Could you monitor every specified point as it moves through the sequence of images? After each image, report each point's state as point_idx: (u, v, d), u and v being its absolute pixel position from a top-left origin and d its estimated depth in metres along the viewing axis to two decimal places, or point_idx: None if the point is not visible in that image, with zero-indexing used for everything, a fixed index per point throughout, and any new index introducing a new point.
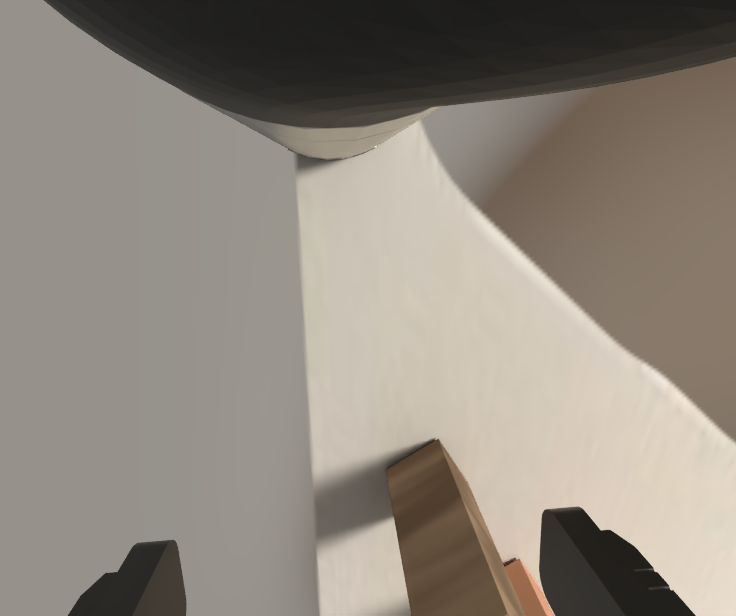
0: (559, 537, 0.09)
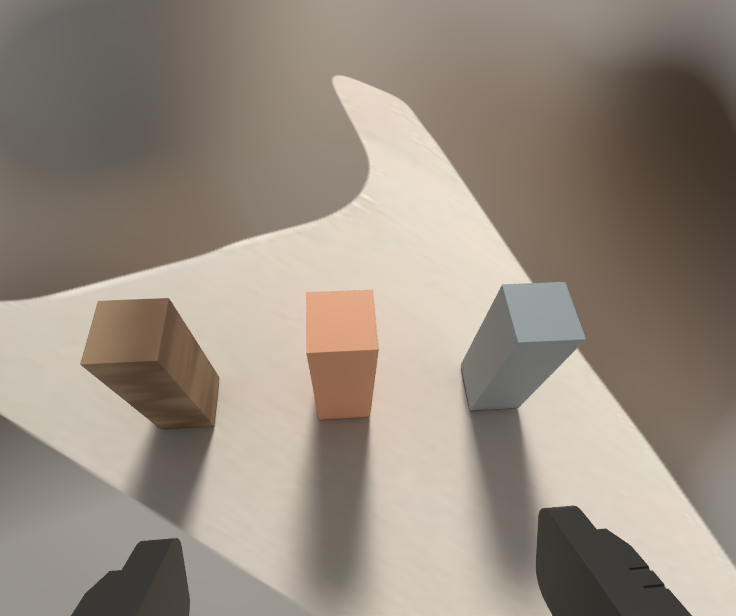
0: (555, 536, 0.09)
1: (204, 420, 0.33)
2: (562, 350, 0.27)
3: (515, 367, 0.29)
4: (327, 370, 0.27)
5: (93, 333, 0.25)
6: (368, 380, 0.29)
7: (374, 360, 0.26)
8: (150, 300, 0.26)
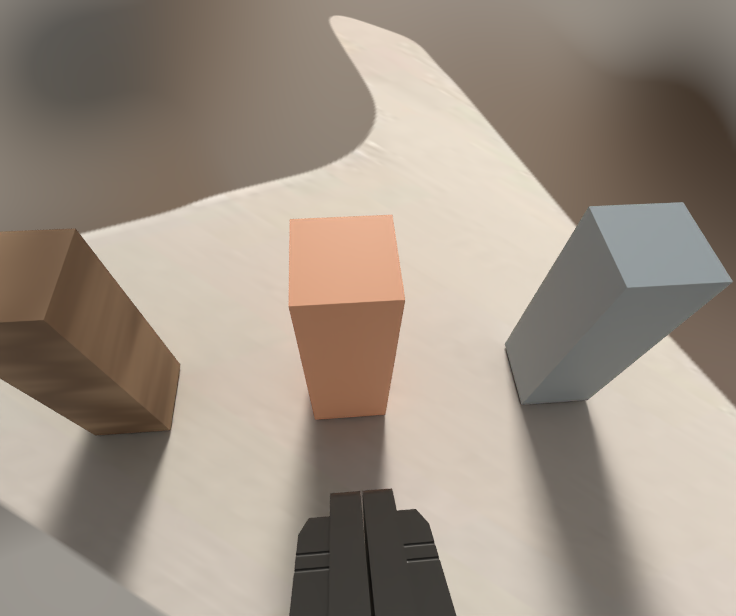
0: (365, 515, 0.10)
1: (154, 421, 0.24)
2: (687, 303, 0.17)
3: (606, 334, 0.19)
4: (324, 339, 0.17)
5: None
6: (386, 357, 0.19)
7: (397, 321, 0.17)
8: (45, 232, 0.17)
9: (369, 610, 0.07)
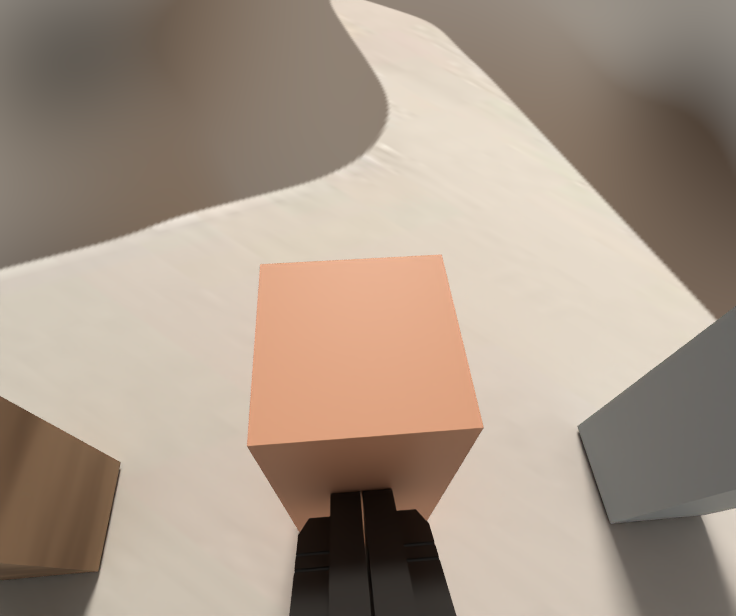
0: (365, 515, 0.10)
1: (67, 570, 0.16)
2: None
3: None
4: (322, 481, 0.10)
5: None
6: (429, 494, 0.11)
7: (459, 455, 0.09)
8: None
9: (369, 610, 0.07)
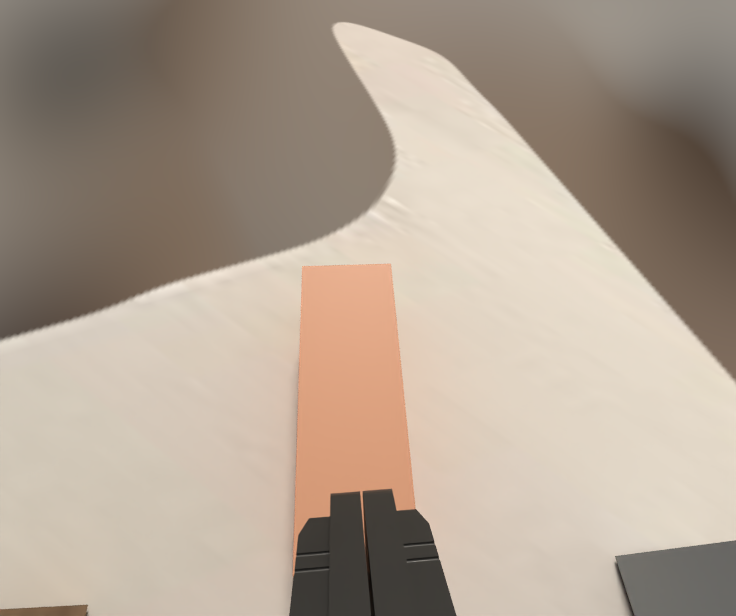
0: (365, 515, 0.10)
1: None
2: None
3: None
4: (326, 313, 0.19)
5: None
6: (390, 353, 0.18)
7: (389, 290, 0.20)
8: None
9: (369, 610, 0.07)
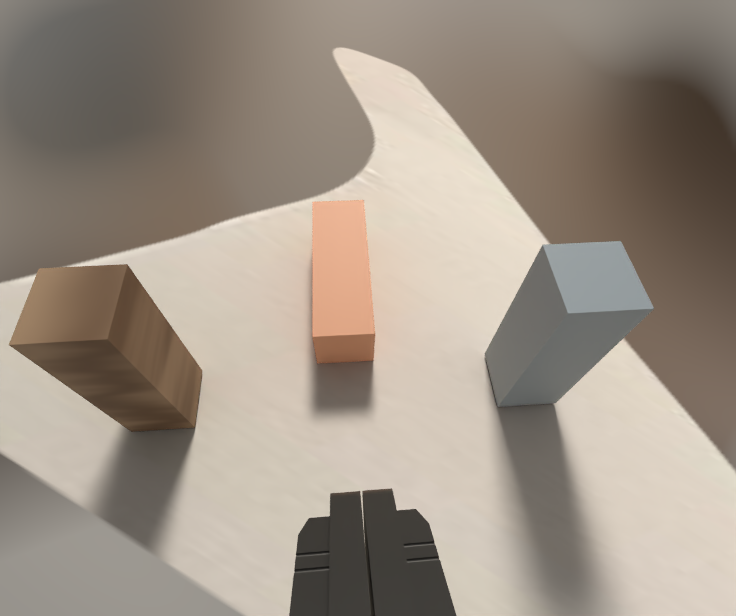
0: (365, 515, 0.10)
1: (182, 420, 0.28)
2: (621, 325, 0.21)
3: (559, 348, 0.23)
4: (326, 225, 0.34)
5: (29, 307, 0.20)
6: (362, 244, 0.33)
7: (362, 213, 0.34)
8: (103, 267, 0.21)
9: (369, 610, 0.07)
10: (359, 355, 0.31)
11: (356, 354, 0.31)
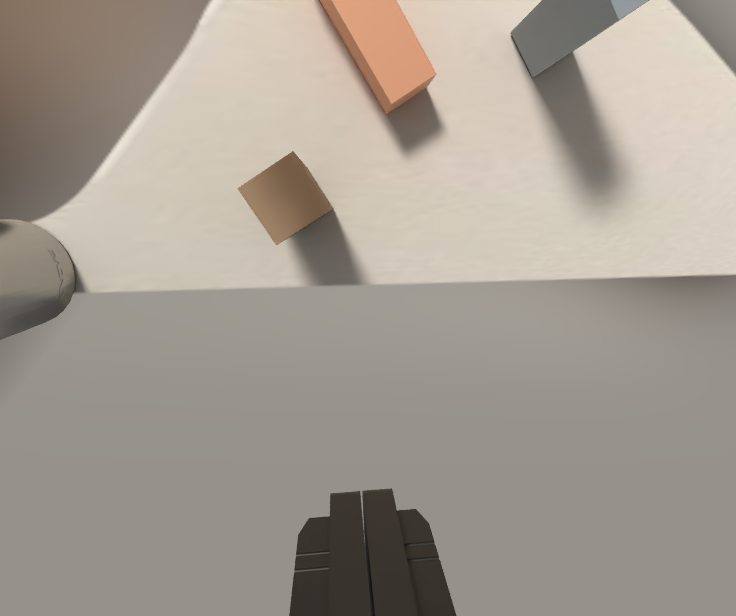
0: (365, 515, 0.10)
1: None
2: None
3: (599, 33, 0.29)
4: None
5: (262, 217, 0.27)
6: None
7: None
8: (280, 163, 0.27)
9: (369, 610, 0.07)
10: (418, 91, 0.37)
11: (416, 92, 0.37)
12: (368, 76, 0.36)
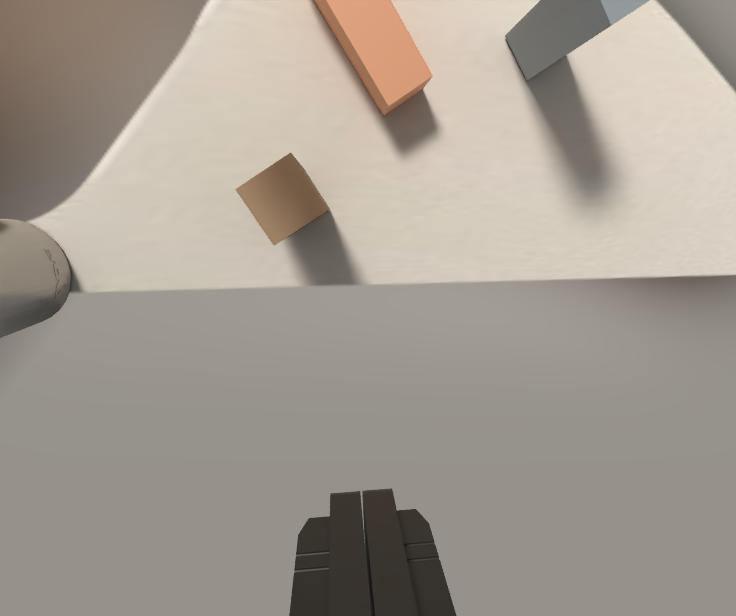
0: (365, 515, 0.10)
1: None
2: None
3: None
4: None
5: (259, 217, 0.27)
6: None
7: None
8: (277, 164, 0.27)
9: (369, 610, 0.07)
10: (414, 93, 0.37)
11: (412, 94, 0.37)
12: (365, 78, 0.36)
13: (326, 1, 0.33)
